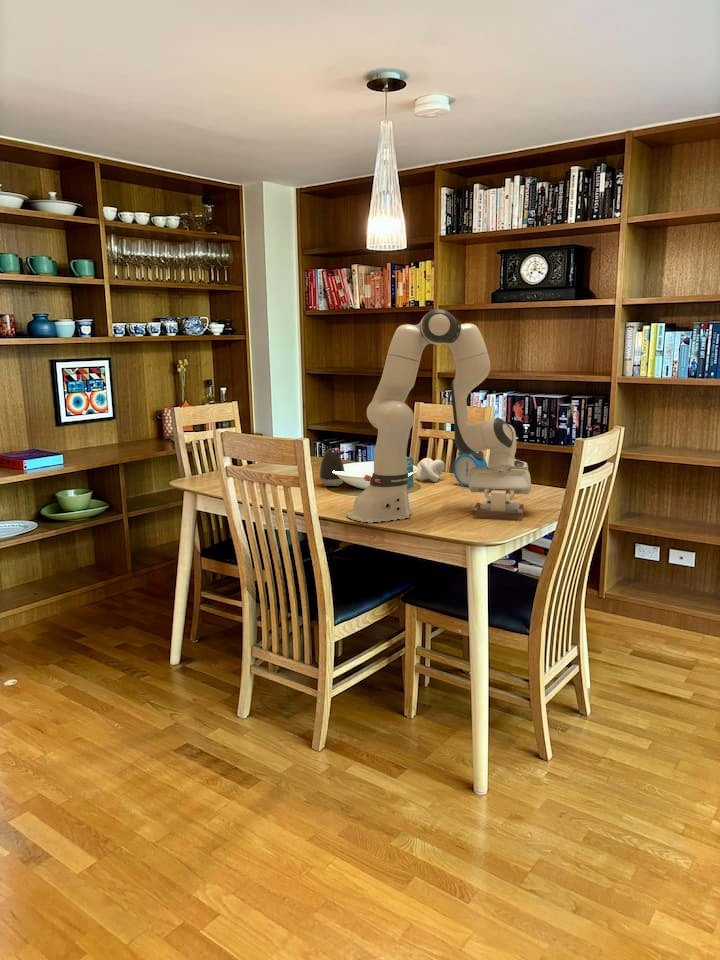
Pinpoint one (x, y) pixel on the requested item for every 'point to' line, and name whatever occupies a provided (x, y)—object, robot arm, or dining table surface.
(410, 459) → the data package
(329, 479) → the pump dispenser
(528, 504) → the dining table surface
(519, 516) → the brown wooden tray
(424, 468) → the white decorative knot
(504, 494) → the cream block
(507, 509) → the grey mat
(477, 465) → the alarm clock
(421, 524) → the dining table surface
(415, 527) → the dining table surface
